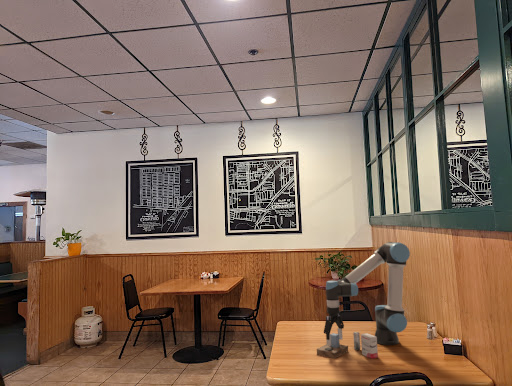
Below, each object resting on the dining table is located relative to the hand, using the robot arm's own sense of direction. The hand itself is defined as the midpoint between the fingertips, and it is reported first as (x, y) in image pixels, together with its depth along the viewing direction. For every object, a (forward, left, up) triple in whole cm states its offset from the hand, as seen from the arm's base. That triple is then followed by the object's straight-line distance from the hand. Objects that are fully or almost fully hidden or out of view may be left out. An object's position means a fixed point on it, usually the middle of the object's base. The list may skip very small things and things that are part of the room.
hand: (334, 342), depth 225 cm
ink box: (-20, -5, -6) cm, 21 cm away
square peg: (0, 0, -5) cm, 5 cm away
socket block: (0, +3, -5) cm, 6 cm away
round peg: (-9, -11, -5) cm, 15 cm away
